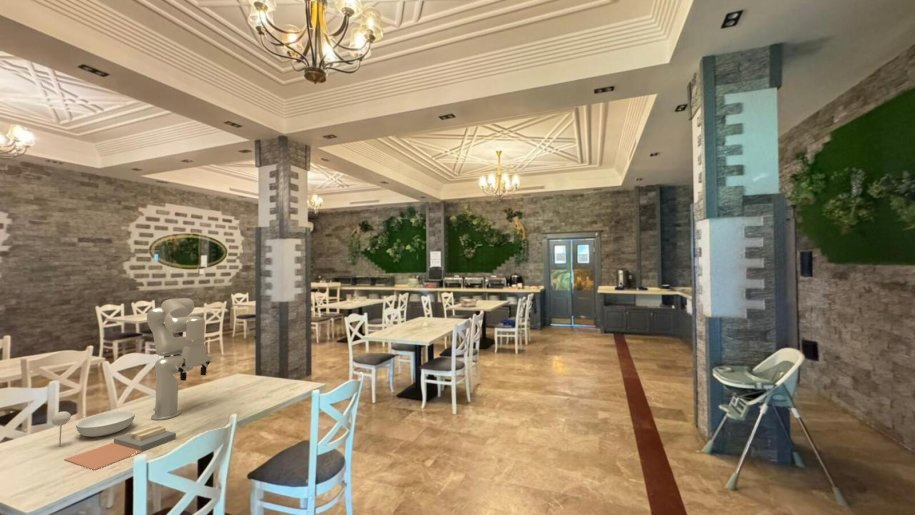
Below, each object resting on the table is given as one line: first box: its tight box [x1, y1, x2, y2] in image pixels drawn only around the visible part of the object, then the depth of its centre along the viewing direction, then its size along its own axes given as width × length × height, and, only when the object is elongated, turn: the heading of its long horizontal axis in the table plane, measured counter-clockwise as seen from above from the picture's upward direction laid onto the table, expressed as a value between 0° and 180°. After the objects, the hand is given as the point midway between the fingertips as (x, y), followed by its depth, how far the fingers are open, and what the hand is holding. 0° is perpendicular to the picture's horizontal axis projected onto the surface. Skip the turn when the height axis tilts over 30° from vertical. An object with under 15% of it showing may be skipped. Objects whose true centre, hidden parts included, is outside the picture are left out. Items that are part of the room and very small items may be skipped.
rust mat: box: [63, 442, 143, 471], centre depth 154 cm, size 22×16×1 cm
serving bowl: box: [75, 410, 136, 437], centre depth 178 cm, size 21×21×7 cm
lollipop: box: [51, 411, 72, 447], centre depth 163 cm, size 6×6×15 cm
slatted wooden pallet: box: [129, 424, 167, 441], centre depth 169 cm, size 8×10×2 cm
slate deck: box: [113, 426, 177, 452], centre depth 168 cm, size 20×14×2 cm
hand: (193, 377), depth 181 cm, fingers open, 9 cm apart
